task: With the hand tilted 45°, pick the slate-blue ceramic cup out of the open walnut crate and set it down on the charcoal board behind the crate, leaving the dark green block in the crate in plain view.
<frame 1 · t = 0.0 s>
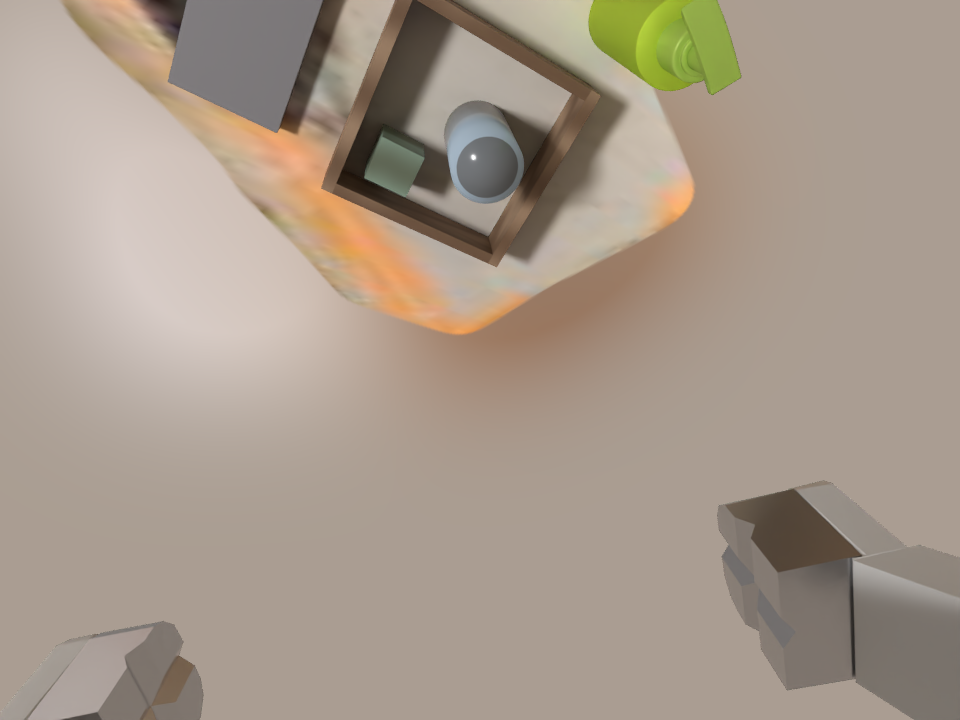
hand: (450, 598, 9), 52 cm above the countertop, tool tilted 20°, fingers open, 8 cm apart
crate: (455, 129, 55), on the countertop
soap dispenser: (619, 11, 51), on the countertop
block: (394, 153, 56), resting in crate
cup: (476, 134, 56), resting in crate
board: (250, 28, 49), on the countertop
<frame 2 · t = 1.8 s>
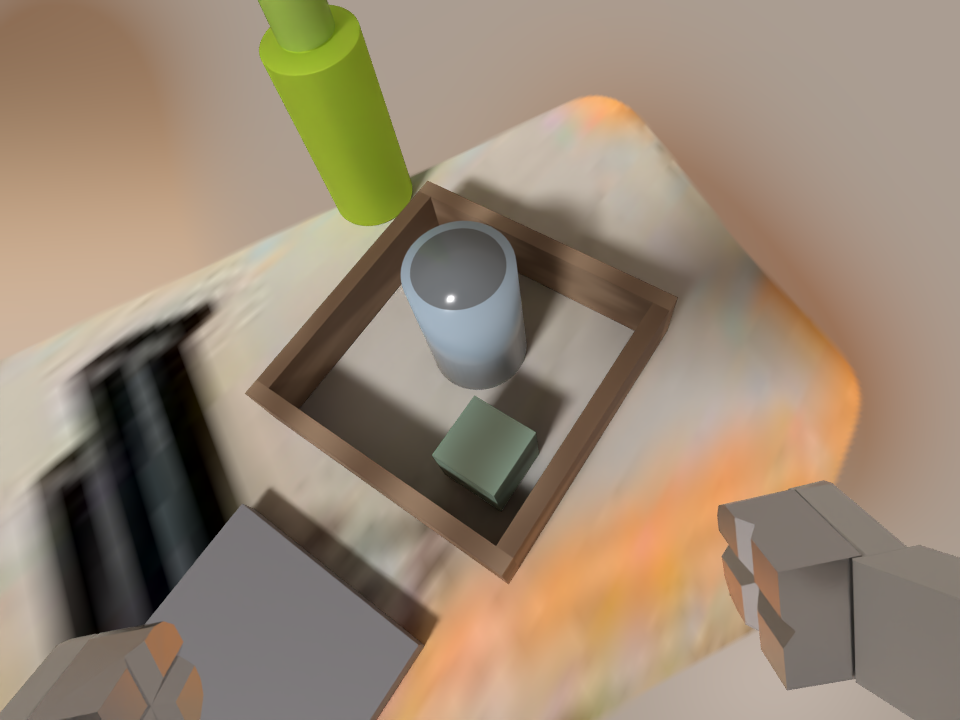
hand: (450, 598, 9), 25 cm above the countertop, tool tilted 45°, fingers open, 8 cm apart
crate: (468, 374, 38), on the countertop
soap dispenser: (369, 199, 46), on the countertop
block: (492, 464, 36), resting in crate
cup: (480, 346, 39), resting in crate
board: (281, 645, 33), on the countertop
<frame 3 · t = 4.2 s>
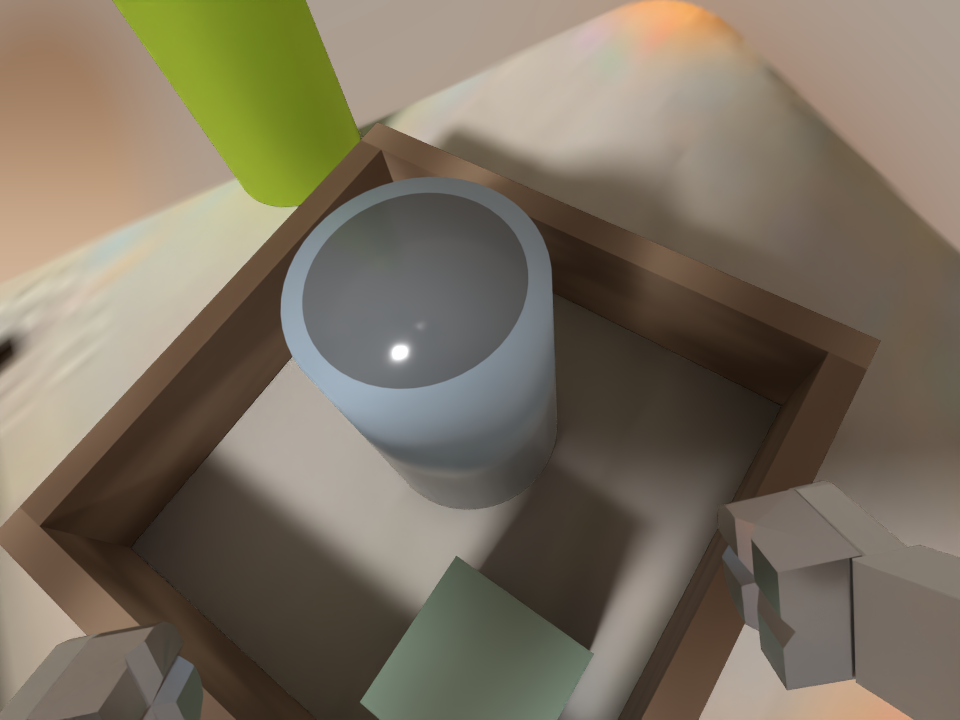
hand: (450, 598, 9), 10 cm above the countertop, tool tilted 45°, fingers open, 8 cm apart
crate: (449, 477, 20), on the countertop
soap dispenser: (291, 164, 28), on the countertop
block: (494, 672, 18), resting in crate
cup: (471, 423, 21), resting in crate
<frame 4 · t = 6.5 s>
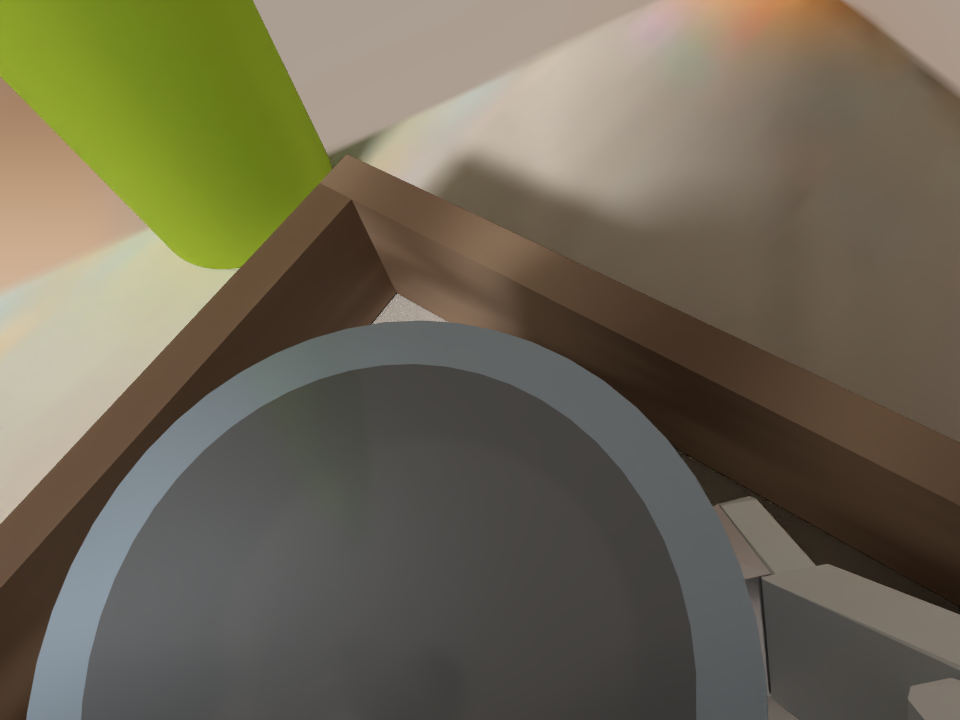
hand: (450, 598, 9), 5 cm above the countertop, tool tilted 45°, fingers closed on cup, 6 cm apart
soap dispenser: (235, 205, 20), on the countertop
cup: (495, 648, 13), resting in crate, touching gripper
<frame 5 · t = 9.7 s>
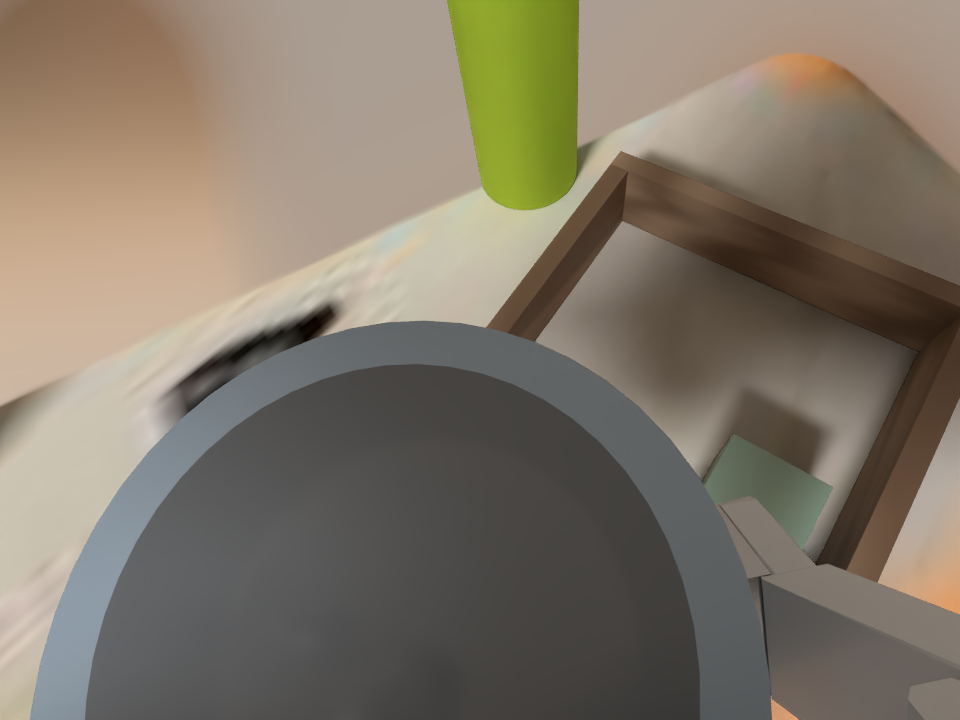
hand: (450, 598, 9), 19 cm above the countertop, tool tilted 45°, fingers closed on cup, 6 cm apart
crate: (684, 399, 30), on the countertop
soap dispenser: (520, 178, 37), on the countertop
block: (734, 521, 27), resting in crate
cup: (496, 648, 13), point 14 cm above the countertop, touching gripper
when the fingers open (8 cm above the countertop, at t = 13.4 s): cup drops 1 cm, resting on board.
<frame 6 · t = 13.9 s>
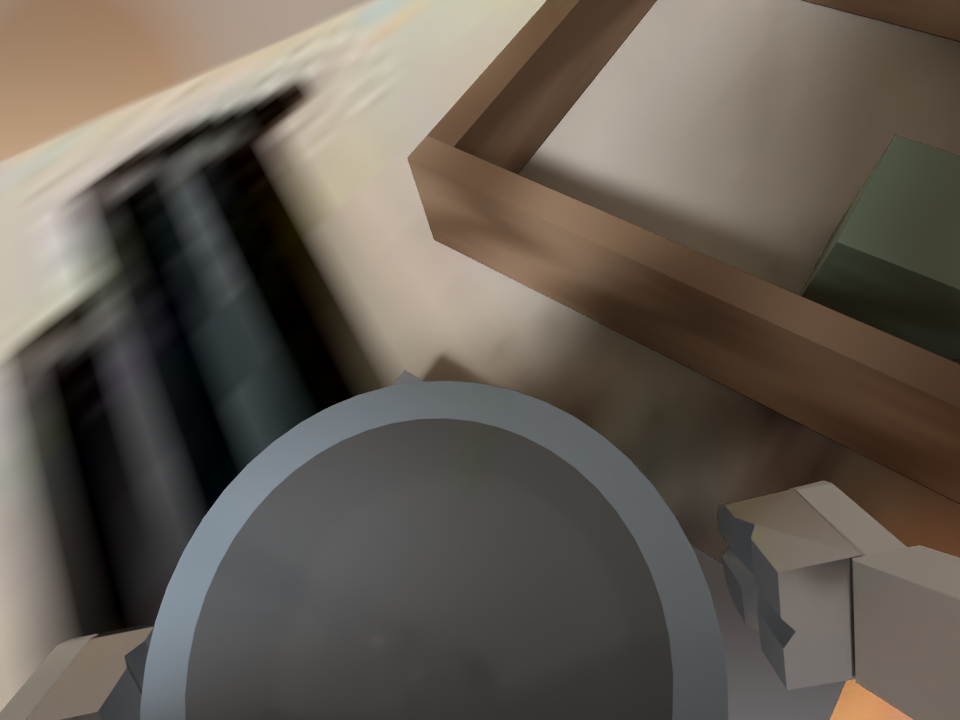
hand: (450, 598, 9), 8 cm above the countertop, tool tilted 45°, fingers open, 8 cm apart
crate: (787, 157, 21), on the countertop
block: (877, 299, 19), resting in crate
cup: (504, 649, 14), point 2 cm above the countertop, touching board
board: (508, 648, 16), on the countertop
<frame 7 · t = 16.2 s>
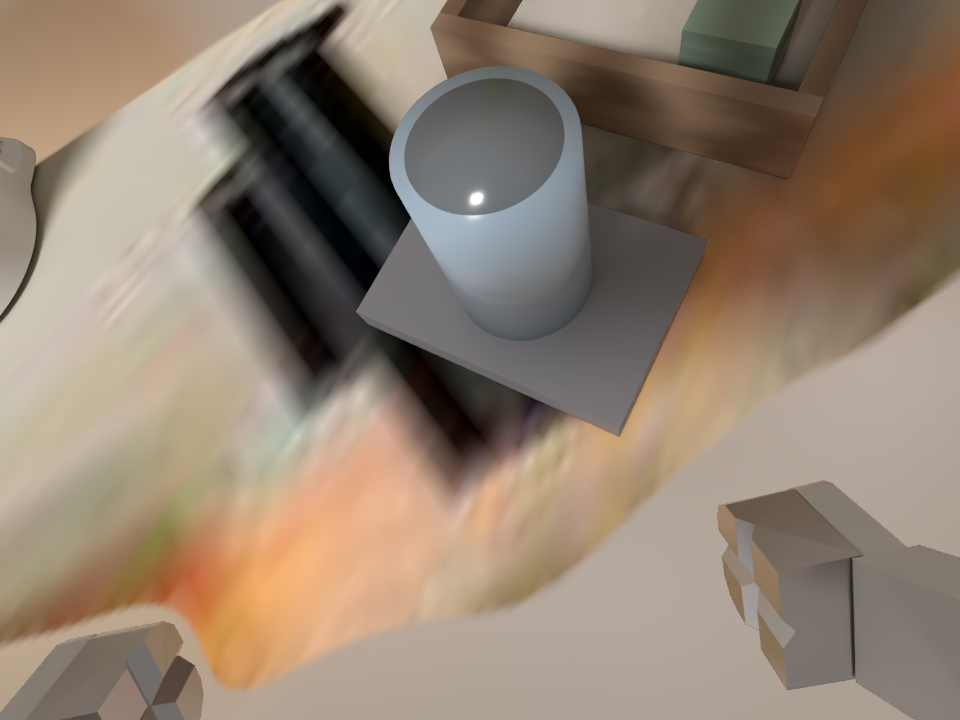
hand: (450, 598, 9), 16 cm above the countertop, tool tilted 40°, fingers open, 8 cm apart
block: (729, 74, 30), resting in crate
cup: (524, 277, 27), point 2 cm above the countertop, touching board
board: (528, 292, 28), on the countertop
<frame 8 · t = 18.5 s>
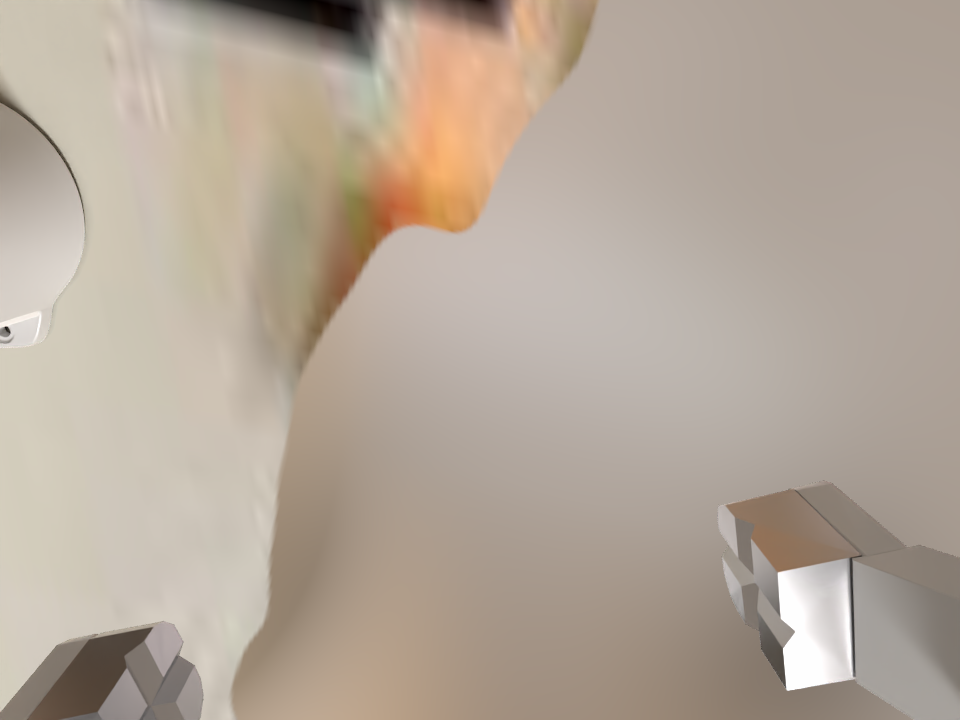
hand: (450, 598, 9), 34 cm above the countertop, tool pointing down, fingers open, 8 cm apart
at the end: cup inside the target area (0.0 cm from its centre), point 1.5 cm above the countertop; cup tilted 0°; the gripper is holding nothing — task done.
